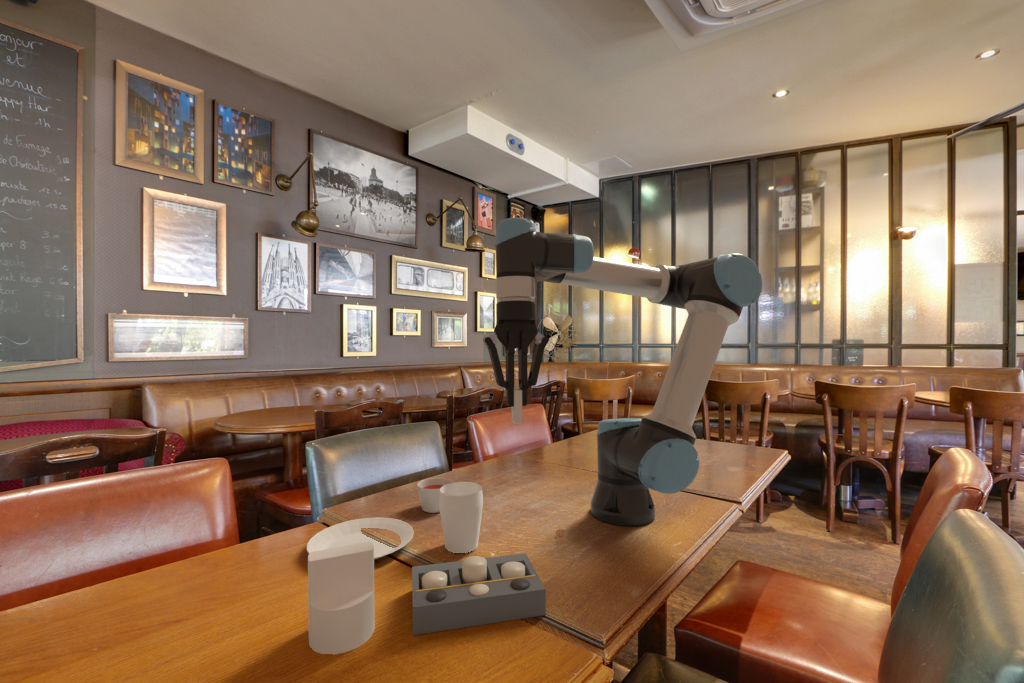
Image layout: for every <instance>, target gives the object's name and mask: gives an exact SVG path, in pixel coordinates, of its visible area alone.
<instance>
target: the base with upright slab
mask: <svg viewBox="0 0 1024 683" xmlns="http://www.w3.org/2000/svg"><path fill="white" fill-rule="evenodd" d="M307 582H308V583H307V590H308V591H307V599H308V600H307V602H308V603H307V605H308V606H307V608H308V610H307V611H308V613H307V614H308V618H307V619H308V624H307V625H308V645H309V647H310V649H311V648H312V649H311V650H312V651H314V652H316V653H317V652H318V653H317V654H320V655H321V654H322V655H325V654H333V655H339V653H340V654H344V653H348V652H350V651H353V650H355V649H357V648H359V647H361V646H362V645H364V644H365V643H366V642H368V641H369V639H370V638H371V637H372V636H373V635H374V634H373V633H374V632H375V630H376V629H375V560H374V545H373V543H372V542H371V541H370V542H364V543H359V544H353V545H348V546H342V547H336V548H331V549H325V550H320V551H314V552H310V553H308V556H307Z"/></svg>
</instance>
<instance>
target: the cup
mask: <svg viewBox="0 0 1024 683" xmlns="http://www.w3.org/2000/svg"><path fill="white" fill-rule="evenodd" d="M483 507H484V496H483V486H482V485H481V484H479V483H477V482H476V483H475V482H473V481H458V482H457V481H456V482H453V483H450V484H447V485H444V486H442V487H441V488H440V498H439V508H440V512H439V515H440V520H441V528H442V534H443V535H442V536H443V540H444V547H445V550H446V549H447V550H448V551H447V550H446V551H447V552H449V551H450V552H449V553H451V552H453V553H452V554H454V553H465V554H469V553H471V551H472V552H474V551H476V549H477V548H478V547H479V538H480V531H481V523H482V518H483V517H482V515H483ZM468 552H469V553H468Z"/></svg>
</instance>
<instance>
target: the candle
mask: <svg viewBox="0 0 1024 683" xmlns="http://www.w3.org/2000/svg"><path fill="white" fill-rule="evenodd" d="M450 483H454V481H453V480H452V479H449V478H445V477H431V478H425V479H422V480H420V481H418V482H417V483H416V484H417V492H418V496H419V497H418V498H419V502H420V506H421V507H420V508H421V509H422V511H424V512H426V513H431V514H434V513H440V508H439V498H440V488H441V487H442V486H444V485H447V484H450Z"/></svg>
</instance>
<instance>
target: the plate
mask: <svg viewBox="0 0 1024 683" xmlns="http://www.w3.org/2000/svg"><path fill="white" fill-rule="evenodd" d="M361 528H379V529H387V530H391V531H393V532H395V533H397V534H398V535H399V536H400V539H401V544H400V545H399V546H398V547H396V548H392V547H389V546H387V545H385V544H383V543H380V542H378V541H376V540H374V539H372V538H370V537H367V536H366V535H364V534H362V532H361ZM414 532H415V531H414V528H413V527H412V525H410V524H409V523H408V522H405V521H403V520H400V519H397V518H393V517H381V516H380V517H378V516H377V517H363V518H356V519H355V518H354V519H351V520H346V521H343V522H339V523H336V524H334V525H331V526H329V527H326V528H324V529H322V530H321V531H319V532H317V533H315V535H313V536H312V537H311V538H310V539H309V540H308V542H307V543H306V551H307V554H309V553H310V552H314V551H320V550H325V549H331V548H336V547H342V546H348V545H353V544H359V543H364V542H370V541H371V542H372V543H373V545H374V561H376V560H379V559H381V558H384V557H386V556H388V555H390V554H393V553H395V552H396V551H398V550H401V549H403V547H405V546H406V545H408V544H409V543H410V542H411V540H412V539H413V537H414Z"/></svg>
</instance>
